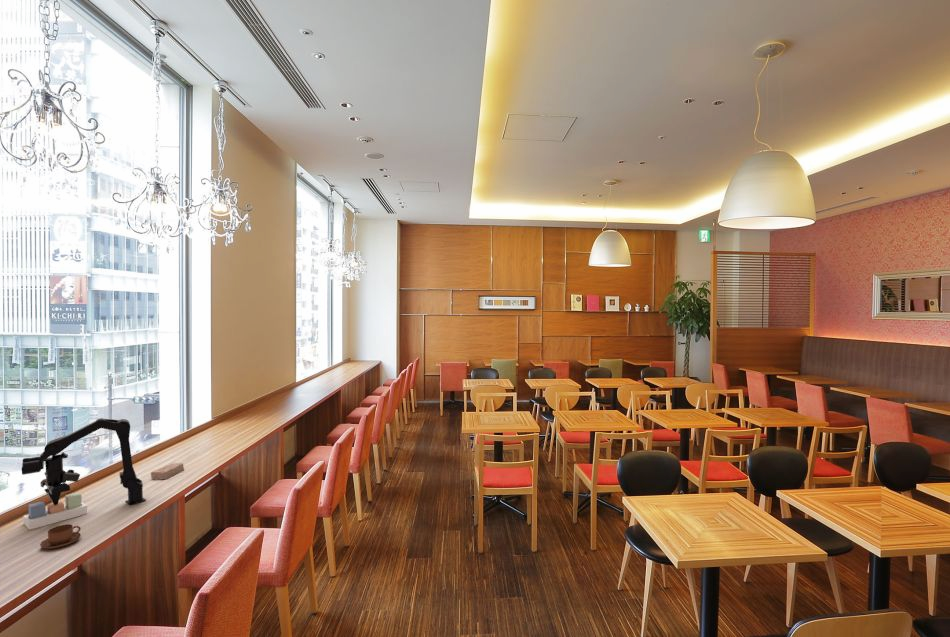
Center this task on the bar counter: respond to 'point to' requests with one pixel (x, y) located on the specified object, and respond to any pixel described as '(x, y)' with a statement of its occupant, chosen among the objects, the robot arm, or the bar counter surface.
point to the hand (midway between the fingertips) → (55, 504)
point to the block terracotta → (55, 508)
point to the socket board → (54, 517)
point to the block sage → (73, 500)
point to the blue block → (36, 510)
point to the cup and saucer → (60, 536)
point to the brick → (167, 471)
